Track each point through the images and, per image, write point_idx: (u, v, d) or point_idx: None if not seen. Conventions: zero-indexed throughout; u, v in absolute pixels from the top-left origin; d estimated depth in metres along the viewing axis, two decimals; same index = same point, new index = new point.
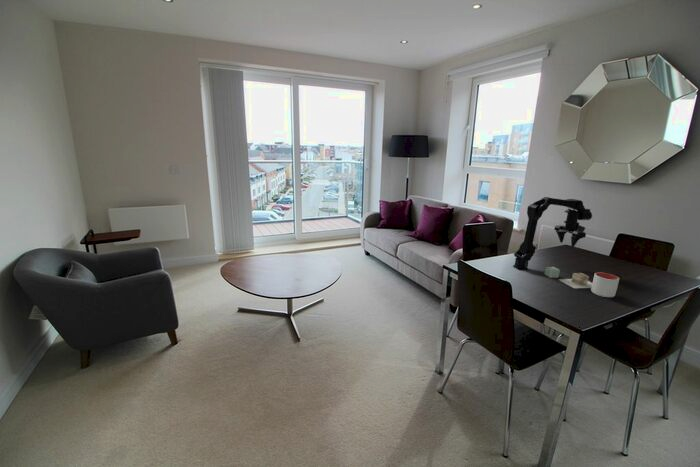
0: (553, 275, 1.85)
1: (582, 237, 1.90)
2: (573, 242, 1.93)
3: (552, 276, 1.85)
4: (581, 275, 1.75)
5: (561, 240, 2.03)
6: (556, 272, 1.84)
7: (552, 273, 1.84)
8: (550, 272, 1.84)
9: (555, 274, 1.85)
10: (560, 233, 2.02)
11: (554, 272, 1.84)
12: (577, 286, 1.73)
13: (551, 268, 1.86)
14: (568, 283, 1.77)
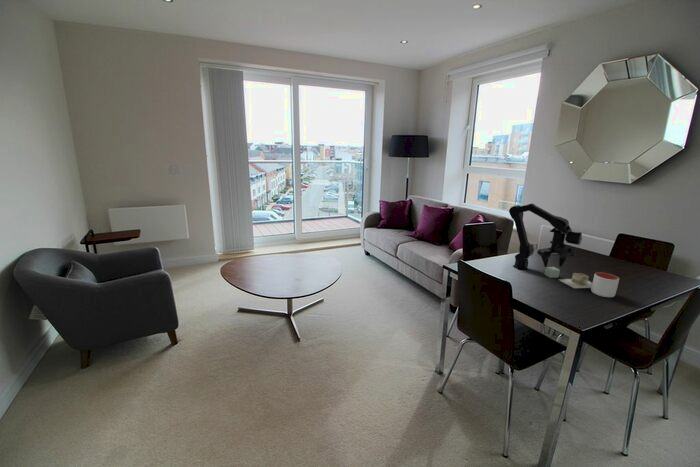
0: (553, 275, 1.85)
1: (544, 256, 1.81)
2: (543, 261, 1.86)
3: (552, 276, 1.85)
4: (581, 275, 1.75)
5: (560, 264, 1.86)
6: (556, 272, 1.84)
7: (552, 273, 1.84)
8: (550, 272, 1.84)
9: (555, 274, 1.85)
10: (560, 256, 1.86)
11: (554, 272, 1.84)
12: (577, 286, 1.73)
13: (551, 268, 1.86)
14: (568, 283, 1.77)
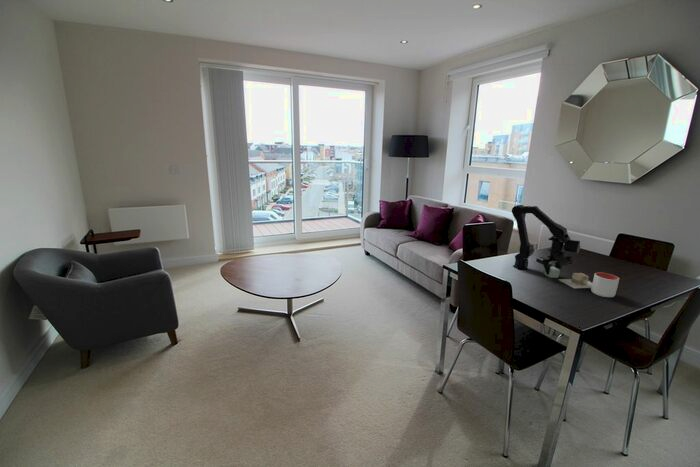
0: (553, 275, 1.85)
1: (546, 264, 1.83)
2: (545, 268, 1.87)
3: (552, 276, 1.85)
4: (581, 275, 1.75)
5: None
6: (556, 272, 1.84)
7: (552, 273, 1.84)
8: (550, 272, 1.84)
9: (555, 274, 1.85)
10: (556, 263, 1.87)
11: (554, 272, 1.84)
12: (577, 286, 1.73)
13: (551, 268, 1.86)
14: (568, 283, 1.77)
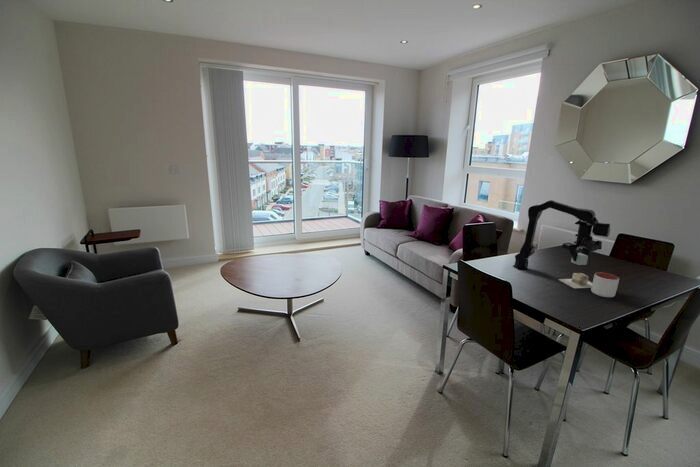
0: (581, 261, 1.73)
1: (573, 250, 1.72)
2: (572, 255, 1.76)
3: (580, 262, 1.73)
4: (581, 275, 1.75)
5: None
6: (584, 258, 1.73)
7: (580, 259, 1.73)
8: (578, 258, 1.73)
9: (583, 260, 1.73)
10: (583, 249, 1.76)
11: (582, 258, 1.73)
12: (577, 286, 1.73)
13: (578, 254, 1.75)
14: (568, 283, 1.77)
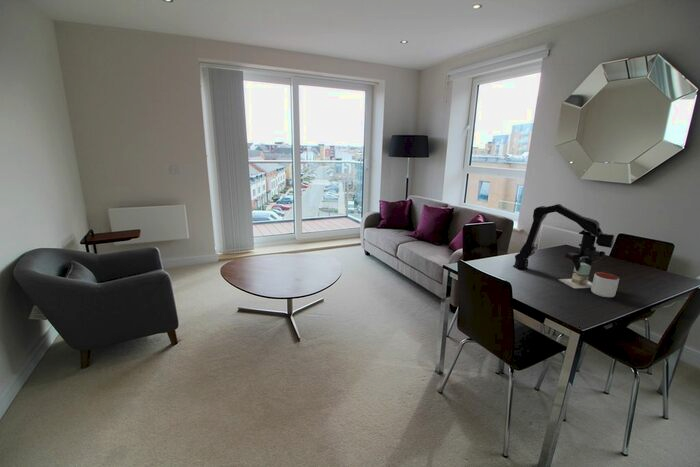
0: (583, 271, 1.73)
1: (576, 260, 1.72)
2: (575, 264, 1.76)
3: (582, 272, 1.73)
4: (581, 275, 1.75)
5: None
6: (587, 268, 1.73)
7: (582, 269, 1.73)
8: (581, 268, 1.73)
9: (586, 270, 1.73)
10: (586, 259, 1.76)
11: (585, 268, 1.73)
12: (577, 286, 1.73)
13: (581, 264, 1.75)
14: (568, 283, 1.77)
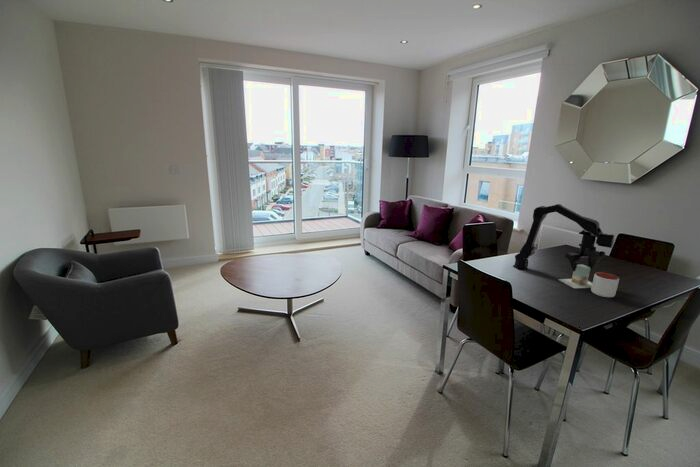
0: (583, 273, 1.73)
1: (573, 260, 1.71)
2: (571, 265, 1.75)
3: (582, 274, 1.74)
4: None
5: None
6: (587, 270, 1.73)
7: (582, 271, 1.73)
8: (580, 270, 1.73)
9: (585, 272, 1.73)
10: (589, 259, 1.76)
11: (585, 270, 1.73)
12: (577, 286, 1.73)
13: (581, 266, 1.75)
14: (568, 283, 1.77)
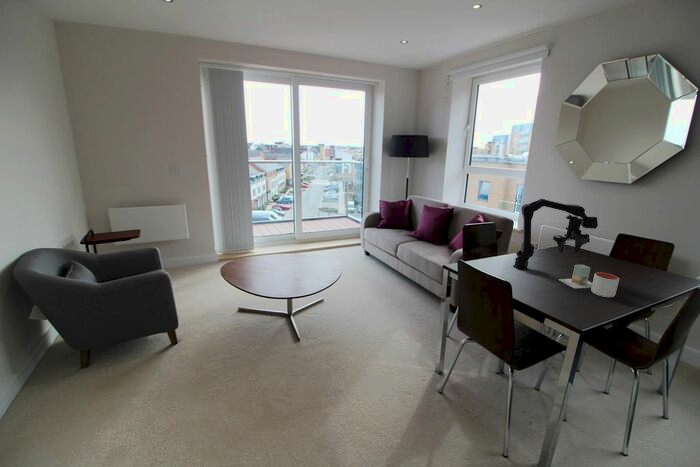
0: (583, 273, 1.73)
1: (560, 242, 1.85)
2: (559, 247, 1.89)
3: (582, 274, 1.74)
4: None
5: (575, 250, 1.90)
6: (587, 270, 1.73)
7: (582, 271, 1.73)
8: (580, 270, 1.73)
9: (585, 272, 1.73)
10: (576, 242, 1.90)
11: (585, 270, 1.73)
12: (577, 286, 1.73)
13: (581, 266, 1.75)
14: (568, 283, 1.77)
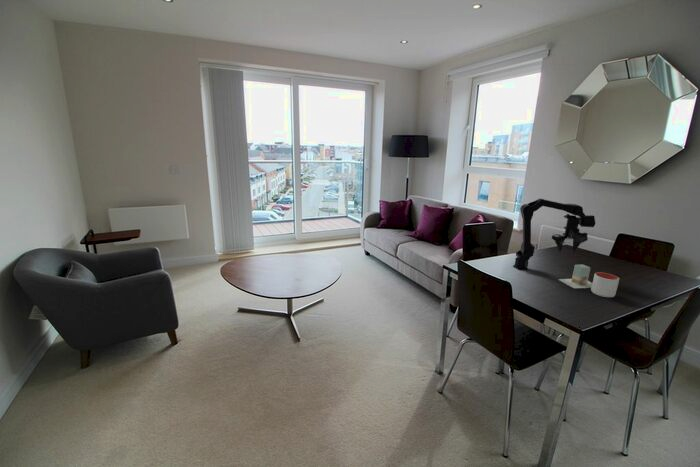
0: (583, 273, 1.73)
1: (558, 241, 1.87)
2: (557, 246, 1.91)
3: (582, 274, 1.74)
4: None
5: (573, 248, 1.92)
6: (587, 270, 1.73)
7: (582, 271, 1.73)
8: (580, 270, 1.73)
9: (585, 272, 1.73)
10: (574, 241, 1.92)
11: (585, 270, 1.73)
12: (577, 286, 1.73)
13: (581, 266, 1.75)
14: (568, 283, 1.77)
